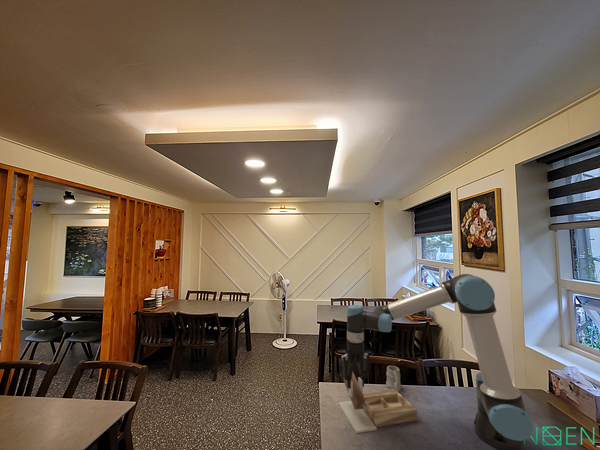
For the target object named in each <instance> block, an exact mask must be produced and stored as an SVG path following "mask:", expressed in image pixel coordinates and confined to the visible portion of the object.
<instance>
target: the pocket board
mask: <svg viewBox="0 0 600 450" xmlns="http://www.w3.org/2000/svg"><path fill="white" fill-rule="evenodd" d="M363 396H364V398H365V404H364V408H363V411H364V412H365V413H366V415H367V416H368V417H369V419H370V420H371V421H372V423H373V424H374V425H375V426H376V428H380V427H385V426H386V427H387V426H391V425H398V424H403V423H409V422H410V423H411V422H415V421H418V415H417V414H418V409H417V408H416V407H415V406H414V405H413V404H412V403H411V402H410V401H408V400H407V399H406V398H405V397H404V396H403V395H401V394H400V393H399V392H397V391H396V390H395V389H383V390H376V391H369V392H363Z"/></svg>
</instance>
